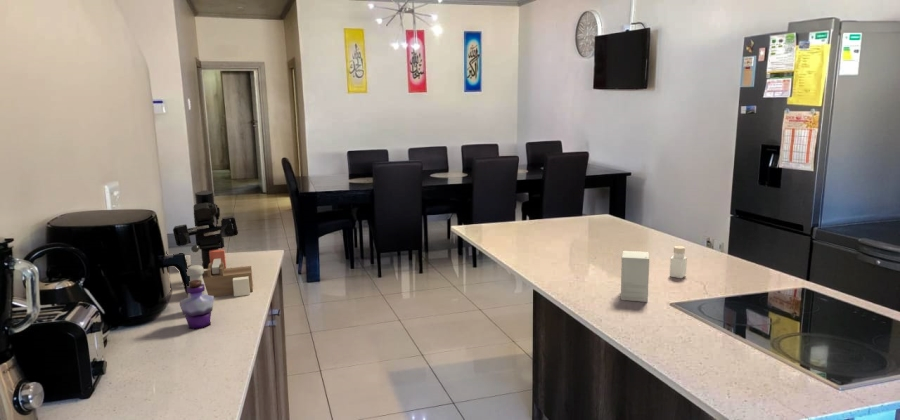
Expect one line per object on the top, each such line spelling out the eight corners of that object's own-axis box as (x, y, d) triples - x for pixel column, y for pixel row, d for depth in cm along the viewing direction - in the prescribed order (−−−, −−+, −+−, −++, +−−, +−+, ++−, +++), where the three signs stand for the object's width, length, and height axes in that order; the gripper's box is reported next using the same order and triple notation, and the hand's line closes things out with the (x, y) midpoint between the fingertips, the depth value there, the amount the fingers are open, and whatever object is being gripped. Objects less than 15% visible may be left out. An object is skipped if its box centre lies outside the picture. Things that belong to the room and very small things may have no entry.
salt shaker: (202, 315, 157) (197, 269, 154) (183, 314, 158) (178, 269, 156) (214, 308, 163) (210, 263, 160) (196, 307, 164) (191, 262, 161)
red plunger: (211, 268, 185) (209, 250, 184) (226, 267, 187) (224, 249, 185) (208, 280, 173) (206, 261, 172) (224, 278, 174) (222, 259, 173)
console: (191, 291, 178) (188, 265, 176) (252, 284, 183) (250, 259, 182) (188, 299, 170) (185, 272, 169) (252, 291, 176) (250, 265, 174)
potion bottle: (191, 319, 155) (186, 276, 152) (223, 318, 154) (218, 275, 152) (175, 332, 146) (169, 286, 144) (208, 331, 146) (203, 286, 144)
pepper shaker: (686, 276, 182) (688, 246, 180) (681, 279, 179) (683, 249, 177) (673, 273, 185) (675, 244, 183) (668, 276, 182) (670, 247, 180)
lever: (192, 278, 171) (189, 245, 173) (203, 277, 172) (201, 244, 174) (191, 277, 169) (188, 244, 170) (202, 276, 170) (200, 243, 171)
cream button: (234, 293, 174) (232, 278, 173) (249, 292, 175) (248, 276, 174) (234, 296, 172) (232, 280, 171) (249, 294, 173) (248, 278, 172)
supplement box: (647, 294, 167) (649, 251, 164) (647, 302, 160) (649, 258, 157) (621, 291, 169) (622, 249, 167) (619, 300, 162) (621, 256, 160)
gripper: (170, 206, 188) (166, 220, 174) (231, 196, 193) (231, 208, 179) (178, 238, 191) (175, 254, 177) (237, 227, 197) (238, 242, 183)
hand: (205, 239), depth 179 cm, fingers open, 9 cm apart
